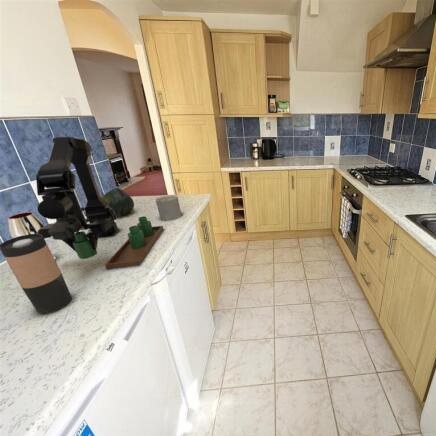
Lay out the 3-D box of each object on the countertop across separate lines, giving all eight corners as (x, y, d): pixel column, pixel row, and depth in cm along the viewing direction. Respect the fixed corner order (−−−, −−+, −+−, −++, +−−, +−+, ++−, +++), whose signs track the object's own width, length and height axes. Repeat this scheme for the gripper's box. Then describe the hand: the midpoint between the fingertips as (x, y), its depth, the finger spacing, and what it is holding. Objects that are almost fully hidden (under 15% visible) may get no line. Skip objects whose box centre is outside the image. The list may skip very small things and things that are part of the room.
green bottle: (75, 260, 81) (65, 237, 77) (84, 252, 85) (75, 230, 82) (92, 258, 81) (83, 235, 78) (100, 250, 86) (91, 229, 83)
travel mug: (51, 296, 70) (19, 234, 62) (79, 294, 70) (51, 232, 62) (27, 316, 63) (-13, 249, 55) (58, 313, 63) (23, 247, 55)
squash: (89, 207, 123) (95, 187, 115) (118, 199, 136) (125, 181, 128) (108, 227, 122) (115, 209, 115) (135, 217, 135) (143, 200, 127)
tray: (106, 269, 81) (104, 264, 81) (139, 231, 108) (137, 228, 107) (139, 265, 83) (138, 260, 82) (163, 229, 109) (162, 225, 109)
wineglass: (64, 257, 89) (43, 212, 82) (37, 270, 82) (11, 221, 75) (50, 254, 91) (28, 210, 84) (22, 266, 84) (-4, 219, 77)
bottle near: (139, 239, 101) (133, 220, 98) (143, 233, 106) (138, 215, 103) (151, 237, 102) (146, 219, 99) (155, 232, 107) (150, 214, 103)
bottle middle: (129, 250, 93) (123, 230, 89) (134, 244, 97) (128, 225, 94) (143, 249, 94) (137, 229, 90) (148, 242, 98) (142, 223, 95)
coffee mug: (182, 217, 122) (178, 198, 118) (160, 221, 117) (155, 202, 113) (179, 209, 133) (175, 192, 129) (159, 213, 128) (154, 195, 124)
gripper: (12, 220, 68) (36, 267, 74) (87, 214, 71) (105, 259, 77) (41, 207, 78) (61, 249, 84) (106, 202, 81) (120, 243, 87)
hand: (86, 250), depth 83 cm, fingers closed on green bottle, 5 cm apart
